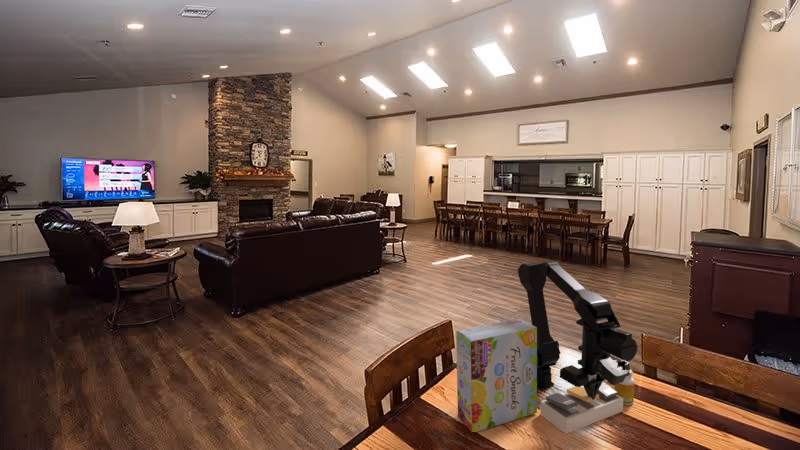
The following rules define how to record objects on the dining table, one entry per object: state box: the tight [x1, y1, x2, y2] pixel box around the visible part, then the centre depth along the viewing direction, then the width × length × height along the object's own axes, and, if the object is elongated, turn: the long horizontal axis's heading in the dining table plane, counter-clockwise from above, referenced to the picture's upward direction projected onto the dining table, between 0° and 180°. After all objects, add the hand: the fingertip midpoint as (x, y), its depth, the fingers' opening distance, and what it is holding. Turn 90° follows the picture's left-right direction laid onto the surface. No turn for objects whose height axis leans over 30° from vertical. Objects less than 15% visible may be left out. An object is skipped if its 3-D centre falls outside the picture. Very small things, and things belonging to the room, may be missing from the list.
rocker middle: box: [566, 386, 599, 402], centre depth 105 cm, size 7×4×1 cm, turn 24°
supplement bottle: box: [612, 368, 635, 406], centre depth 111 cm, size 5×5×10 cm
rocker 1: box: [545, 392, 578, 410], centre depth 102 cm, size 7×4×1 cm, turn 24°
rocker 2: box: [598, 381, 617, 399], centre depth 108 cm, size 7×4×1 cm, turn 25°
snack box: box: [455, 318, 538, 433], centre depth 104 cm, size 22×9×26 cm, turn 111°
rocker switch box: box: [539, 386, 624, 435], centre depth 105 cm, size 9×22×4 cm, turn 114°
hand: (591, 399), depth 102 cm, fingers closed, pressing on rocker middle
